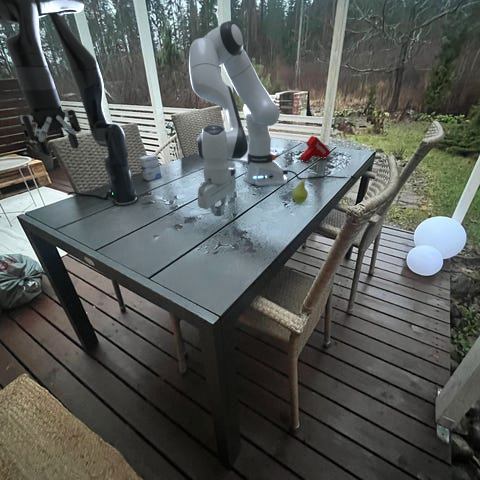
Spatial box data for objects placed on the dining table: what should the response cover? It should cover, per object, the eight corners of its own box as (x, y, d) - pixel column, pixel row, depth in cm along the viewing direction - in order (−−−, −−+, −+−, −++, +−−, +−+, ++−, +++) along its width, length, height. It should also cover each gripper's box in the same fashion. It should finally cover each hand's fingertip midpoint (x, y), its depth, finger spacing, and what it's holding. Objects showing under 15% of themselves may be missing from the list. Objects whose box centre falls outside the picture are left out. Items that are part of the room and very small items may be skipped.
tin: (213, 216, 103) (212, 206, 101) (213, 211, 106) (212, 201, 104) (224, 216, 103) (223, 206, 101) (223, 211, 107) (223, 201, 104)
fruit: (288, 200, 123) (290, 174, 116) (302, 197, 125) (305, 172, 119) (296, 206, 118) (299, 179, 111) (310, 203, 120) (314, 177, 114)
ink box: (157, 175, 153) (153, 153, 146) (161, 177, 150) (158, 155, 143) (143, 178, 148) (138, 157, 141) (147, 181, 145) (143, 158, 138)
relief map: (256, 164, 167) (256, 156, 164) (213, 155, 185) (213, 147, 182) (278, 154, 185) (279, 147, 183) (238, 147, 203) (237, 140, 200)
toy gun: (301, 158, 166) (316, 136, 163) (297, 156, 169) (311, 135, 166) (317, 172, 178) (330, 152, 175) (312, 170, 181) (326, 150, 178)
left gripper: (16, 89, 63) (44, 159, 72) (73, 86, 73) (91, 147, 82) (-1, 89, 66) (28, 156, 75) (57, 85, 76) (76, 144, 85)
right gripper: (206, 186, 87) (209, 223, 95) (238, 168, 102) (238, 201, 110) (191, 182, 90) (195, 219, 98) (224, 165, 105) (225, 198, 113)
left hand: (61, 151), depth 78 cm, fingers open, 8 cm apart
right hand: (218, 209), depth 104 cm, fingers closed on tin, 4 cm apart
